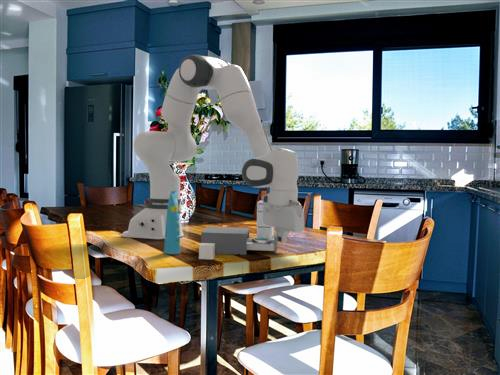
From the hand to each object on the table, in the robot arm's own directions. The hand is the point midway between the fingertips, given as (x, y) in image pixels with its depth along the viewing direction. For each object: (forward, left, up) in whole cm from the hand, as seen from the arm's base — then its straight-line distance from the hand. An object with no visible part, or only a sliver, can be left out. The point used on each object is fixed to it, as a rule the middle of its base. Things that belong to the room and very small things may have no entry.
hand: (282, 242), depth 146 cm
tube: (-33, -9, -3) cm, 35 cm away
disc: (-6, 0, -1) cm, 7 cm away
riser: (-22, -14, -3) cm, 26 cm away
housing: (-18, 0, -3) cm, 18 cm away
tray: (-8, 0, -2) cm, 8 cm away
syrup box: (-6, +24, -3) cm, 25 cm away
